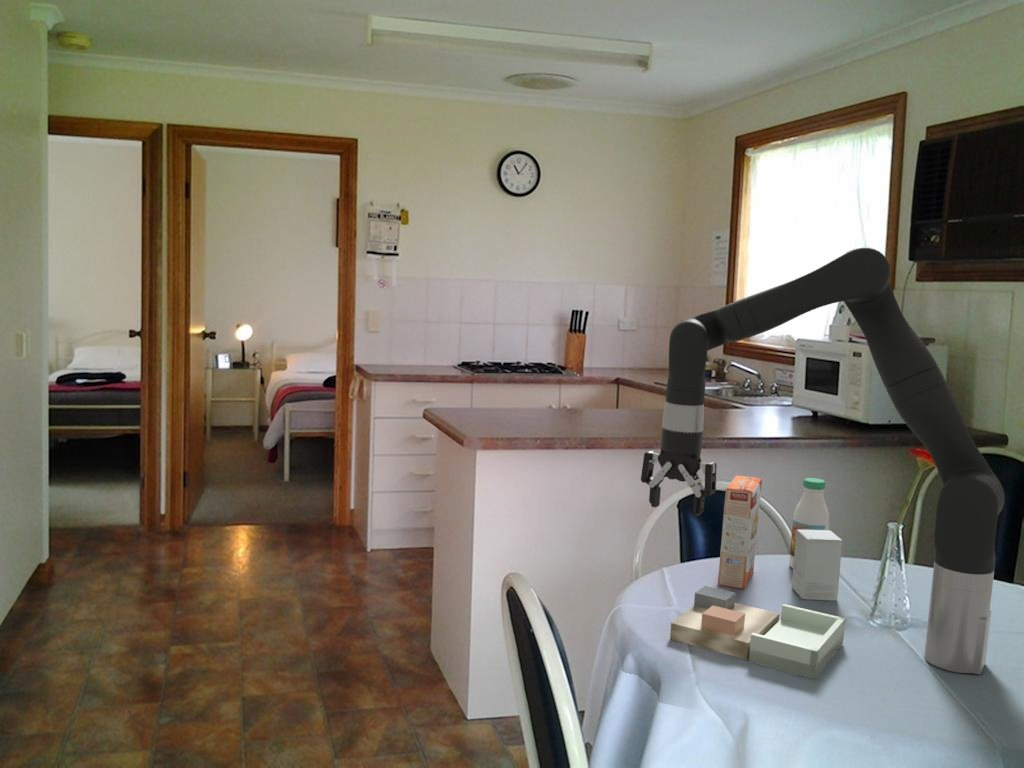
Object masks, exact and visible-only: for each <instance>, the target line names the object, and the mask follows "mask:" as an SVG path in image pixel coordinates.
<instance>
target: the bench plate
mask: <svg viewBox="0 0 1024 768" xmlns="http://www.w3.org/2000/svg"><path fill="white" fill-rule="evenodd" d="M706 610H707V609H705V608H701V607H697V606H694V605H693V606H691V608H689V609H688V610H686V611H685V612H684V613H682V614H681V615H680V616H679V617H677V618H676V619H674V620H673V621H672V622H670V635H669V639H670V640H671V639H672V640H673V641H676V642H680V643H683V644H687V645H691V646H694V647H698V648H700V649H705V650H709V651H712V652H713V651H714V652H715V653H720V654H723V655H726V656H727V655H728V656H730V655H731V657H734V658H739V659H742V660H745V661H748V660H749V653H750V640H751V634H752V633H756V634H760V635H765V634H766V633H767V632H768V631H769V630H770V629H771V628H772V627H773V626H774V625H775V624H776V623H778V622H779V621H780V613H779V612H774V611H771V610H766V609H762V608H758V607H755V606H749V605H746V604H742V603H738V602H735V606H734V607H732V608H731V609H730V610H734V611H738V612H742V613H745V622H744V628H742V629H741V630H740V631H739V632H738V633H737V634H736V635H735V636H733V635H729V634H725V633H721V632H718V631H714V630H710V629H706V628H702V627H701V622H702V613H703V612H705V611H706ZM672 640H671V641H672Z"/></svg>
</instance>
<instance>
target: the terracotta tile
mask: <svg viewBox="0 0 1024 768" xmlns="http://www.w3.org/2000/svg"><path fill="white" fill-rule="evenodd" d="M744 622H745V613H742V612H738V611H734V610H730V609H725V608H721V607H717V606H711V607H710V608H709V609H707V610H706V611H705V612H703V613H702V622H701V627H702V628H706V629H710V630H714V631H718V632H721V633H725V634H729V635H733V636H735V635H736V634H737V633H738V632H739V631H740V630H741V629H742V628H744Z"/></svg>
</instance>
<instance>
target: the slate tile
mask: <svg viewBox="0 0 1024 768" xmlns="http://www.w3.org/2000/svg"><path fill="white" fill-rule="evenodd" d="M735 603H736V592H734V591H730V590H725V589H722V588H716V587H712V586H708V585H703V587H701V588H699V589H698V590H697V591H696V592H694V603H693V606H697V607H701V608H705V609H709V608H710V607H711V606H717V607H721V608H725V609H731V608H732V607H734V606H735Z"/></svg>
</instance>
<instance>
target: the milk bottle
mask: <svg viewBox="0 0 1024 768" xmlns="http://www.w3.org/2000/svg"><path fill="white" fill-rule="evenodd" d="M802 483H803V486H802V489H803V493H802V496H801V498H800V500H799V502H798V504H797V505H796V507H795V509H794V512H793V516H792V517H793V518H792V525H791V536H790V549H789V559H788V560H789V561H788V562H789V563H788V564H789V566H790V567H791V568H792V569H793V567H794V555H795V542H796V532H797V529H799V530H830V515H829V511H828V507H827V504H826V502H825V496H824V492H825V491H826V490H825V488H826V481H825V480H824V479H820V478H817V477H816V478H814V477H806V478H803V482H802Z"/></svg>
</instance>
